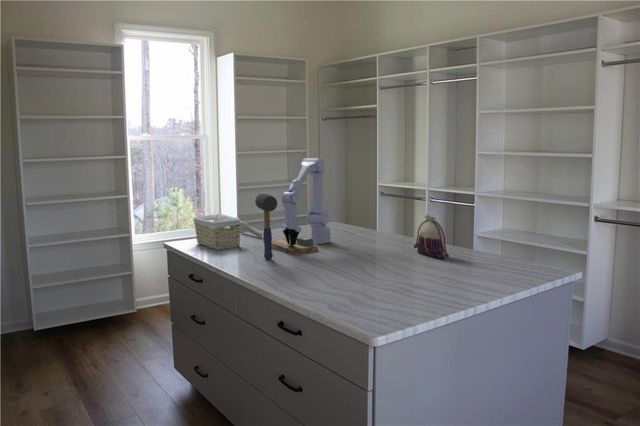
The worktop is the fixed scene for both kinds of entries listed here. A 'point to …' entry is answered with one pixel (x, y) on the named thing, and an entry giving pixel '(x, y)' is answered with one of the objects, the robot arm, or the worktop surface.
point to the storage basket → (217, 231)
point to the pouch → (431, 239)
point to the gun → (249, 229)
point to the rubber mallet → (267, 221)
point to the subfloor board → (295, 250)
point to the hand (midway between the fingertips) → (291, 244)
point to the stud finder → (304, 241)
